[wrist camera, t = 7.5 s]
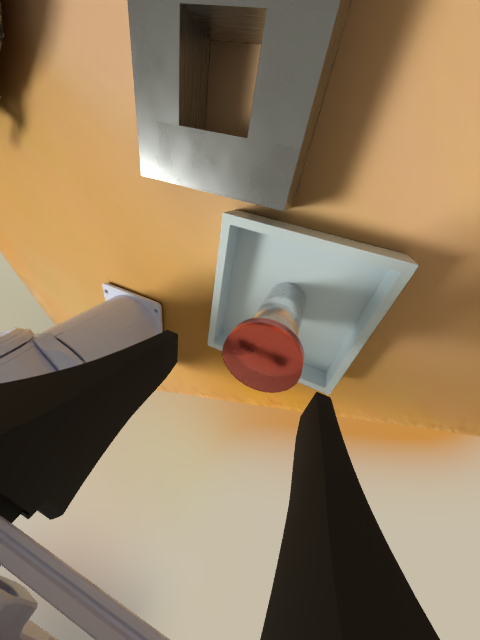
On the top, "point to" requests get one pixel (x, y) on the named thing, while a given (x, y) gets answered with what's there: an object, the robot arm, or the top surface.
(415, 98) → the top surface
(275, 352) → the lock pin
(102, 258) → the top surface
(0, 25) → the pulley block
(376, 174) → the top surface
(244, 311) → the tray
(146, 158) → the bracket
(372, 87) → the top surface
